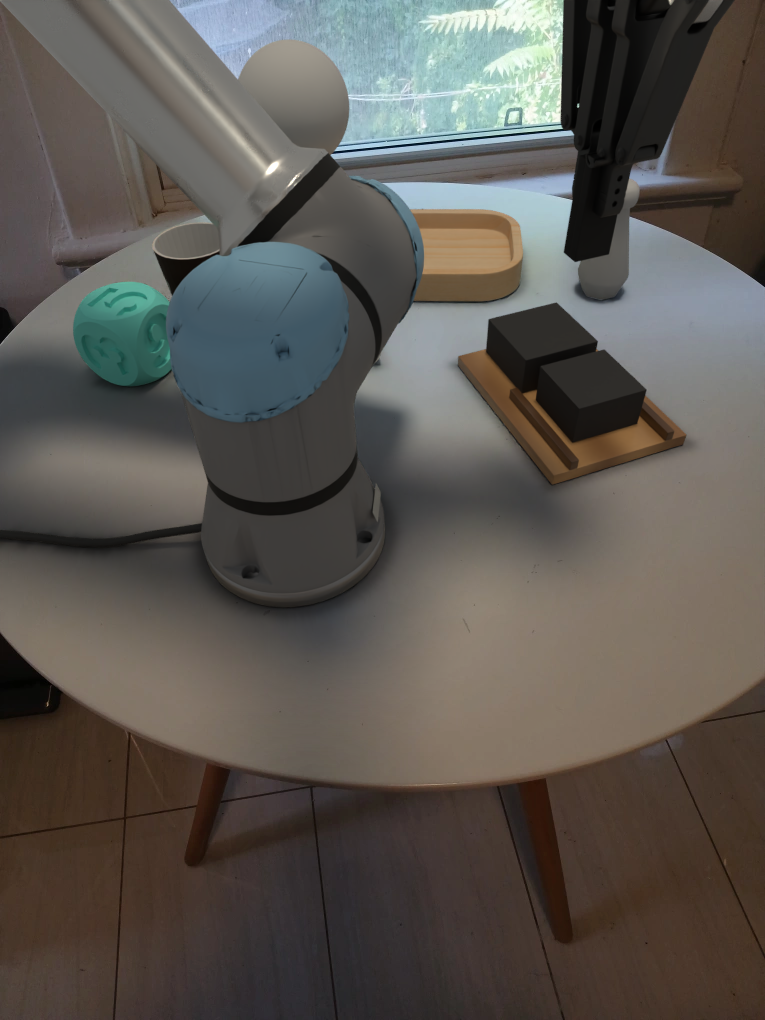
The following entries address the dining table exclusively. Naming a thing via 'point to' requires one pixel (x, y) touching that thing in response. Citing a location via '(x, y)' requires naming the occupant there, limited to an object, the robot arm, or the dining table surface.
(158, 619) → the dining table surface
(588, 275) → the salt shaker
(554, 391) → the black rectangular block
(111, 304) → the decorative dice
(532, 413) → the tray
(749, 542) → the dining table surface
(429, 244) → the lamp
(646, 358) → the dining table surface
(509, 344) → the pad
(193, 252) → the coffee mug
